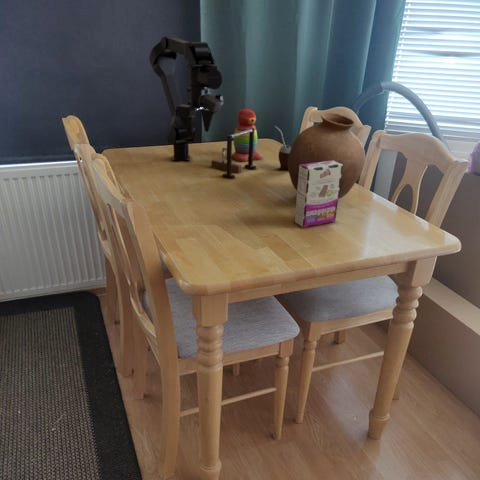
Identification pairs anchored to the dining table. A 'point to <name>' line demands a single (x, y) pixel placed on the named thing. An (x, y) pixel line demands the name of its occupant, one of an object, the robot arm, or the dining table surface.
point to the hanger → (225, 164)
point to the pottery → (329, 149)
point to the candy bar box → (317, 193)
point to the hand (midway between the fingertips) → (198, 133)
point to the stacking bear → (245, 136)
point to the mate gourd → (284, 153)
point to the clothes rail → (229, 151)
